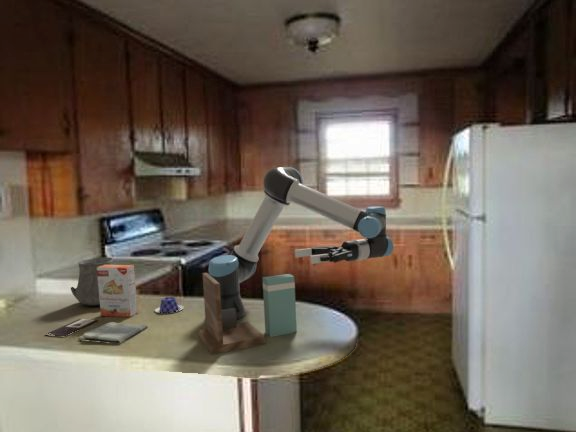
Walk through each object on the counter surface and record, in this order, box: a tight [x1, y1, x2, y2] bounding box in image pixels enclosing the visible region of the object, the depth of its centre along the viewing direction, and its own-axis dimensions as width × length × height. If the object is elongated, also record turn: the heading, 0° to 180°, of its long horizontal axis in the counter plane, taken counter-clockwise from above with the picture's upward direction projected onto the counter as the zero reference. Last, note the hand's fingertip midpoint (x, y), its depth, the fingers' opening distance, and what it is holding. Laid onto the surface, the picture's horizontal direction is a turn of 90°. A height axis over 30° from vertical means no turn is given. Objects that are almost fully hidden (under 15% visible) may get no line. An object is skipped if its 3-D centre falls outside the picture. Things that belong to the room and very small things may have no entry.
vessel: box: [70, 256, 114, 307], centre depth 213 cm, size 22×22×20 cm
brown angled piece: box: [198, 272, 266, 356], centre depth 160 cm, size 18×18×22 cm
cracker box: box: [97, 264, 139, 318], centre depth 194 cm, size 14×6×21 cm, turn 76°
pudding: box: [154, 296, 185, 314], centre depth 199 cm, size 12×12×5 cm
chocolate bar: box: [47, 318, 99, 337], centre depth 181 cm, size 9×1×18 cm
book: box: [262, 273, 298, 338], centre depth 166 cm, size 5×10×20 cm, turn 113°
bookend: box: [221, 308, 238, 330], centre depth 165 cm, size 9×3×7 cm, turn 113°
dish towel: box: [78, 321, 149, 345], centre depth 172 cm, size 19×18×3 cm
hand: (302, 256), depth 168 cm, fingers open, 13 cm apart
